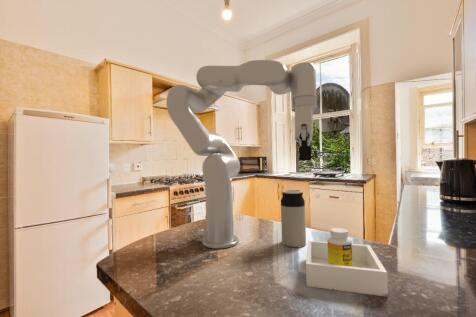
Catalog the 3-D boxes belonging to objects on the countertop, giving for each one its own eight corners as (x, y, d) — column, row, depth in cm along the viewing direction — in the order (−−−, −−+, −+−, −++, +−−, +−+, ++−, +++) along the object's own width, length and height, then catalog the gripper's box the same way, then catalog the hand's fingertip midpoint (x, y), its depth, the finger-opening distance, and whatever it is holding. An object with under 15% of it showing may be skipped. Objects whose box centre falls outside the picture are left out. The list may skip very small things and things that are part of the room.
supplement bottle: (344, 279, 54) (343, 235, 54) (323, 270, 59) (322, 229, 59) (357, 272, 57) (355, 230, 58) (336, 264, 62) (335, 225, 62)
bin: (306, 286, 53) (305, 263, 53) (308, 257, 68) (307, 240, 68) (387, 296, 48) (387, 272, 48) (370, 263, 63) (369, 245, 63)
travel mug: (311, 244, 78) (309, 191, 79) (292, 249, 75) (290, 193, 75) (295, 238, 86) (293, 188, 86) (277, 242, 82) (275, 190, 82)
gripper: (293, 111, 82) (295, 160, 82) (288, 99, 66) (290, 160, 65) (316, 109, 80) (318, 159, 79) (317, 96, 63) (319, 160, 63)
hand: (305, 160), depth 72 cm, fingers open, 9 cm apart
